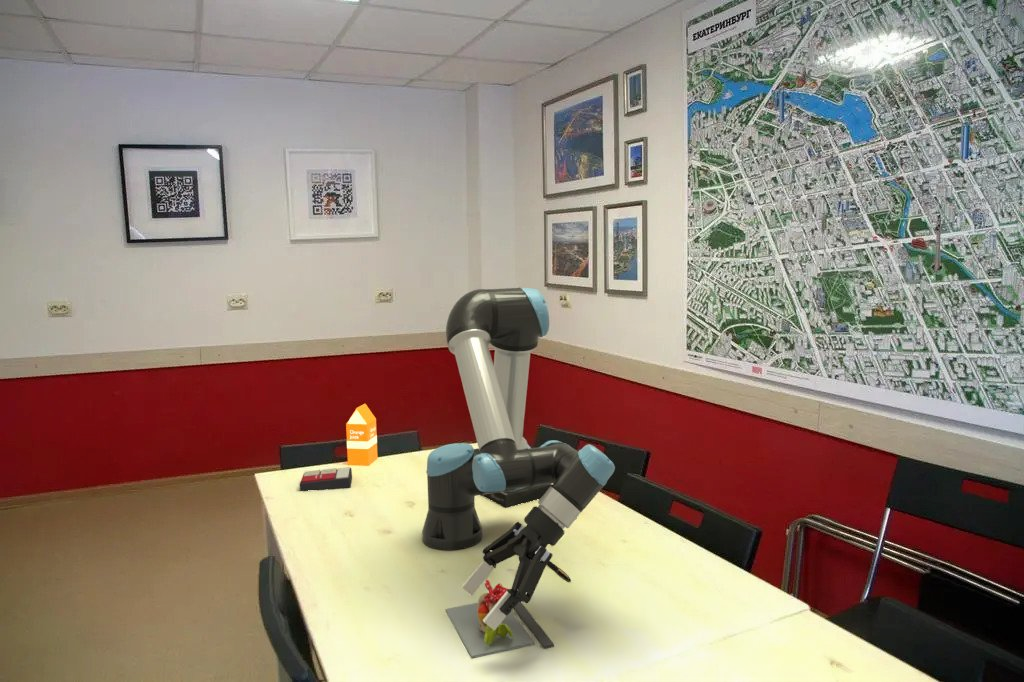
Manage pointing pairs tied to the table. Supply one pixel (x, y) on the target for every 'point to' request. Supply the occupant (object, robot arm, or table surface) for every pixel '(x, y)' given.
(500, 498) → the black flat box
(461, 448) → the robot arm
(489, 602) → the bird rattle
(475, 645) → the mat
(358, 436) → the orange juice
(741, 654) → the table surface
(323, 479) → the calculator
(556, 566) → the fountain pen
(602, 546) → the table surface
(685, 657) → the table surface
